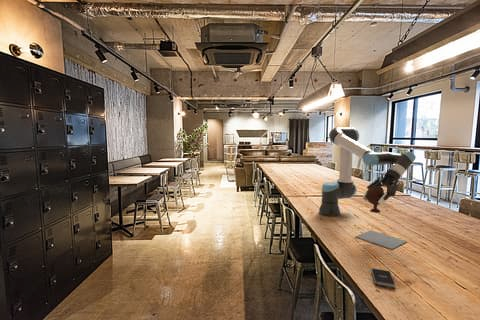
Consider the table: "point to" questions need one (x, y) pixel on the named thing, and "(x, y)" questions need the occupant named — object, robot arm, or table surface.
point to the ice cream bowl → (374, 197)
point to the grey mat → (381, 239)
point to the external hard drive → (383, 278)
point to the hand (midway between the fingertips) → (371, 201)
